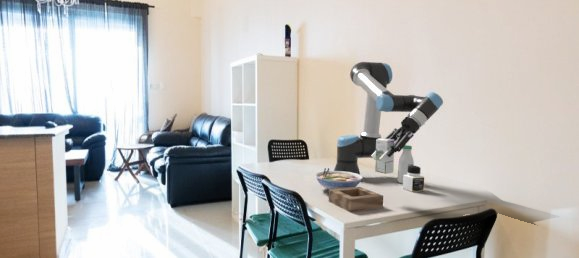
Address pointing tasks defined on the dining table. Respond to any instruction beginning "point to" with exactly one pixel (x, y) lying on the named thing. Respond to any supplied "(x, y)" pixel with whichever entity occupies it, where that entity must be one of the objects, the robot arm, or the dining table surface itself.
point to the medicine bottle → (413, 179)
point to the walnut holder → (355, 199)
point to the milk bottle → (404, 162)
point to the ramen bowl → (338, 179)
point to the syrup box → (381, 148)
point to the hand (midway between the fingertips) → (377, 159)
